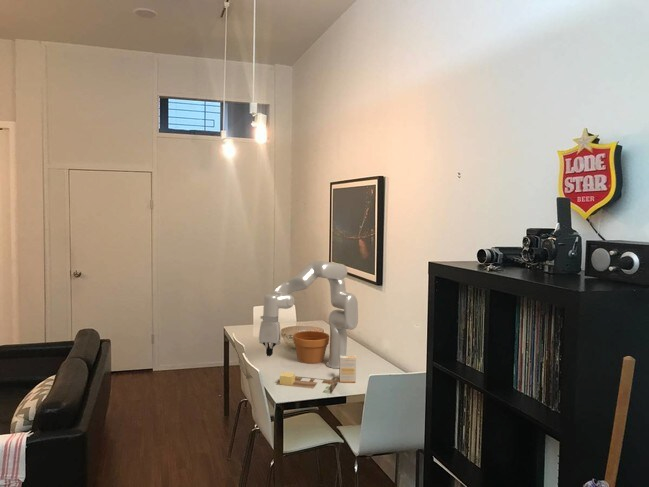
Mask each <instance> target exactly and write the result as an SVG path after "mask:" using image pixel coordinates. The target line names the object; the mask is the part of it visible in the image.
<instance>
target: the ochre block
mask: <svg viewBox="0 0 649 487" xmlns="http://www.w3.org/2000/svg"><path fill="white" fill-rule="evenodd" d="M295 376H296V373H295V372H284V371H283V372H282V373H281V374H280V375H279V380H280V384H286V385H292V384H293V383H294V382H295Z"/></svg>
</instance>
